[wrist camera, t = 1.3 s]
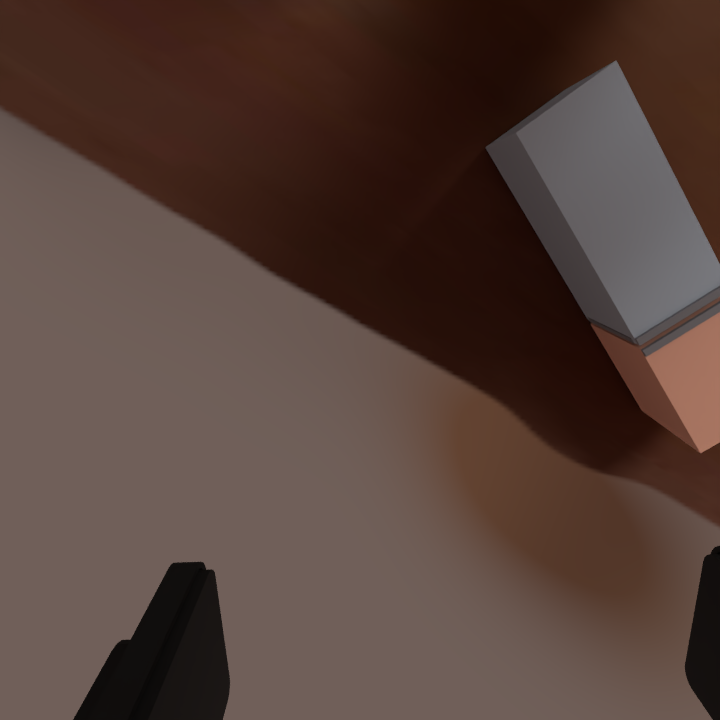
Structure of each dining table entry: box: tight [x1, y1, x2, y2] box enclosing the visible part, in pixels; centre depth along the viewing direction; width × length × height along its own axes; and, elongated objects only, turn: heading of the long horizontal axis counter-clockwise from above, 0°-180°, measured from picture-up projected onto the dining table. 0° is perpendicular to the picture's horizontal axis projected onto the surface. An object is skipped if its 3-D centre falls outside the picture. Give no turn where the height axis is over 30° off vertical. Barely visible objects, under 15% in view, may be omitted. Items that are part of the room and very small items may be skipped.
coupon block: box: [485, 61, 720, 346], centre depth 27 cm, size 12×5×6 cm, turn 35°
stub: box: [591, 297, 720, 453], centre depth 29 cm, size 7×5×6 cm
